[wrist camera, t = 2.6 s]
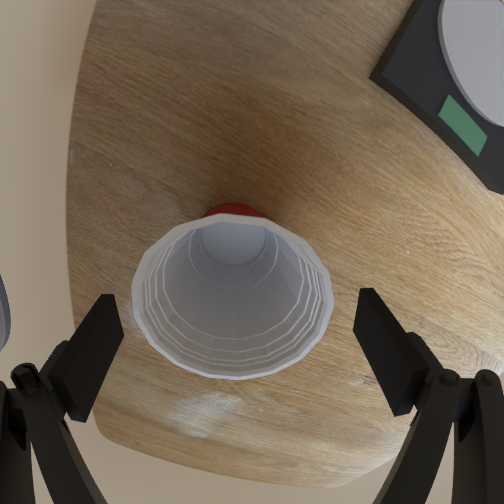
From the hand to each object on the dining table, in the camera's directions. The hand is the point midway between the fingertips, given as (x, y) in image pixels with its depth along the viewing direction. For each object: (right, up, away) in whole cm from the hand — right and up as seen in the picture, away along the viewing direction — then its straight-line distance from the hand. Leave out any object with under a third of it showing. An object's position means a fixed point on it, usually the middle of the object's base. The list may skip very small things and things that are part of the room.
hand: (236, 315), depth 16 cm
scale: (+23, +22, +5) cm, 32 cm away
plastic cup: (-1, +5, +11) cm, 12 cm away
